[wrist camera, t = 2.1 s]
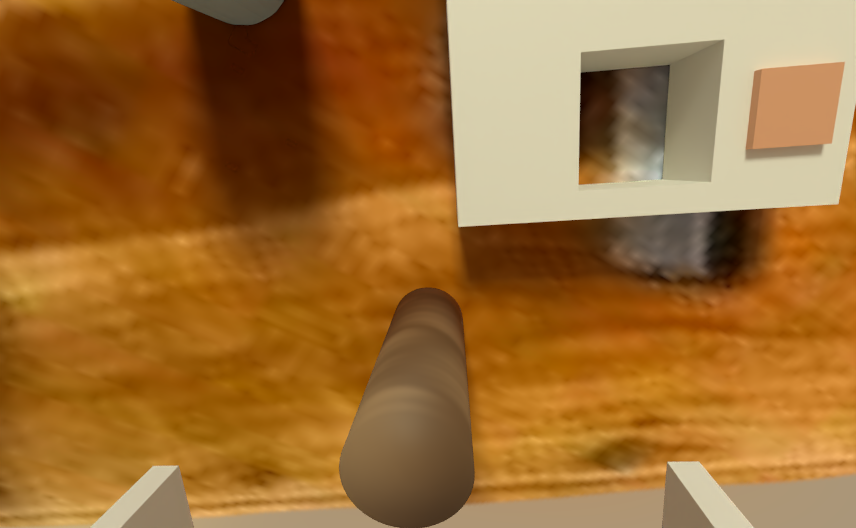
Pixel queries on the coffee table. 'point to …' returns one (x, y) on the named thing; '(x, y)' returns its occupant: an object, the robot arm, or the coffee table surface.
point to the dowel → (414, 420)
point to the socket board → (686, 108)
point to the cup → (235, 9)
